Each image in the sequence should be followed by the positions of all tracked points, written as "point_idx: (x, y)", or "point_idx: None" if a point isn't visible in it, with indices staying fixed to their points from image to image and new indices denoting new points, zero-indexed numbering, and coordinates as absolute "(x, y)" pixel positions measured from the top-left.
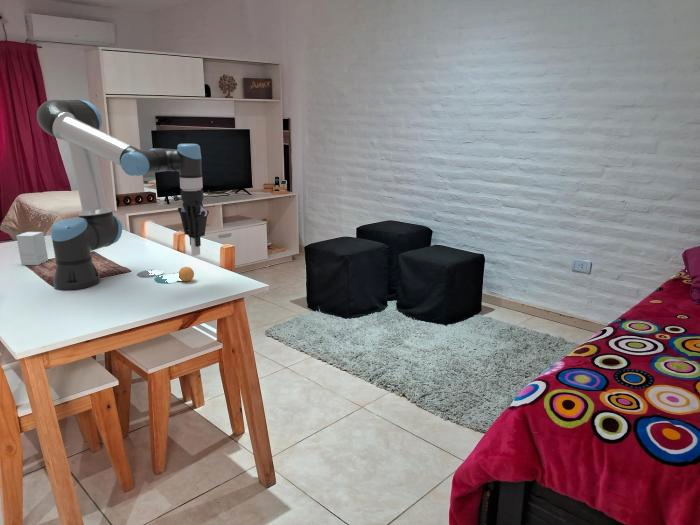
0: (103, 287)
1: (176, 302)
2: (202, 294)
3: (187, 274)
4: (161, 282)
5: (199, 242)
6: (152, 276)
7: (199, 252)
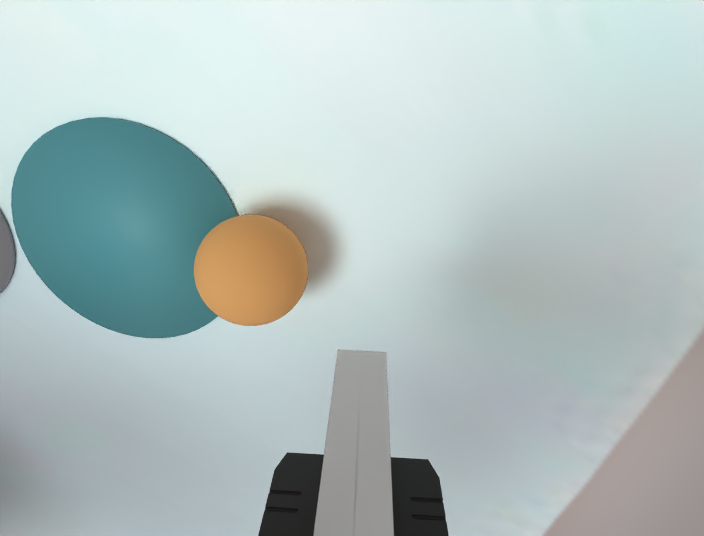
0: (16, 471)
1: (477, 492)
2: (527, 382)
3: (294, 304)
4: (165, 334)
5: (443, 533)
6: (9, 276)
7: (385, 376)
